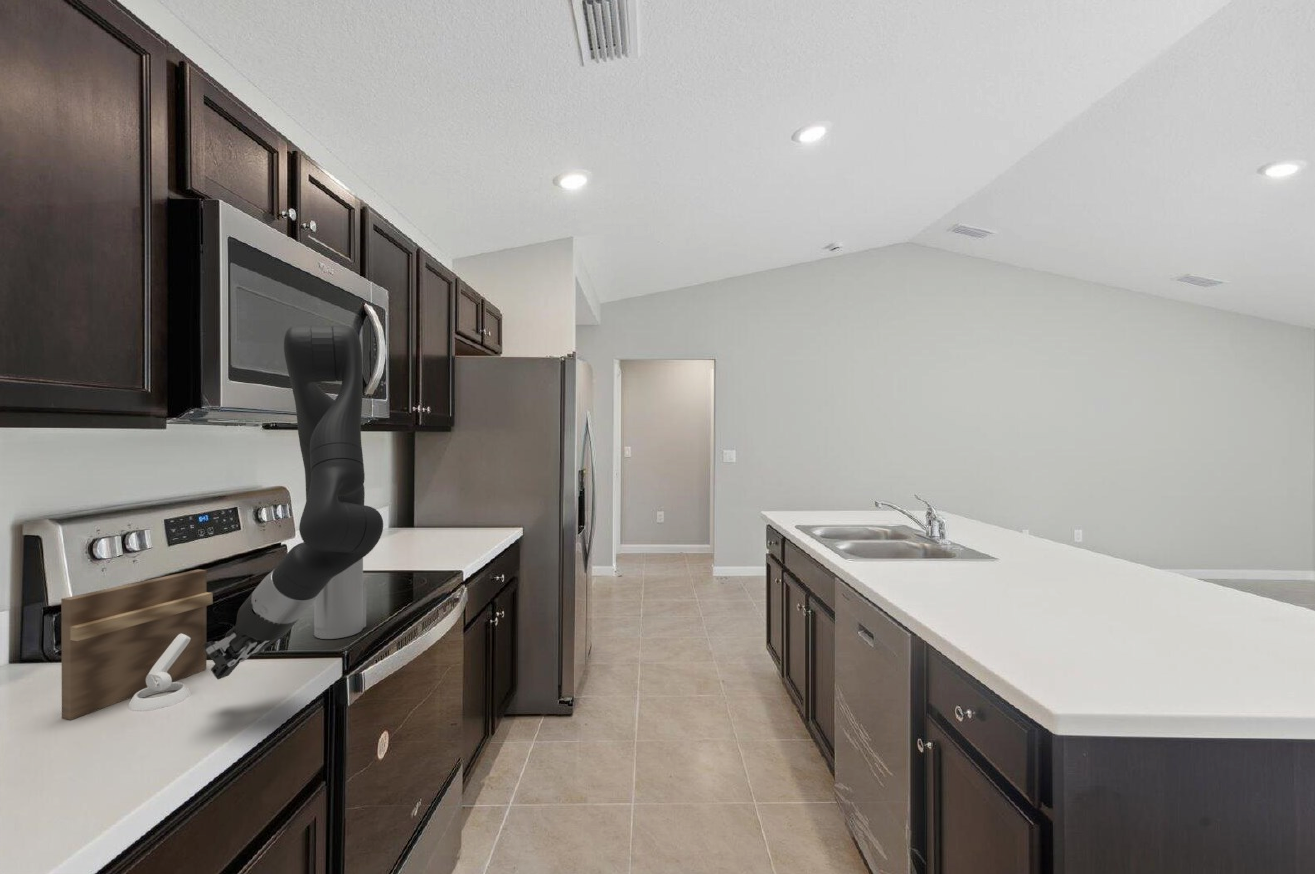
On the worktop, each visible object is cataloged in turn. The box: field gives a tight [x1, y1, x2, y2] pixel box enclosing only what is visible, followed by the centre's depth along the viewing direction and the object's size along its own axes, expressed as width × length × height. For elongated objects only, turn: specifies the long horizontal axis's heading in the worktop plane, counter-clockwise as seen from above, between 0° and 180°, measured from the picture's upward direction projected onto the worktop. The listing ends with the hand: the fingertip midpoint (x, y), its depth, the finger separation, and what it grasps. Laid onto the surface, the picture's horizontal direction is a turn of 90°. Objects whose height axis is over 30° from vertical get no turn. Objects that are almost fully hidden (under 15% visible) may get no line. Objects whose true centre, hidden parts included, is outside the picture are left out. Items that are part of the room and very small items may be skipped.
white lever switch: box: [127, 634, 191, 712], centre depth 97 cm, size 8×12×7 cm
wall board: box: [60, 568, 214, 721], centre depth 99 cm, size 20×4×18 cm, turn 163°
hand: (218, 673), depth 92 cm, fingers closed
